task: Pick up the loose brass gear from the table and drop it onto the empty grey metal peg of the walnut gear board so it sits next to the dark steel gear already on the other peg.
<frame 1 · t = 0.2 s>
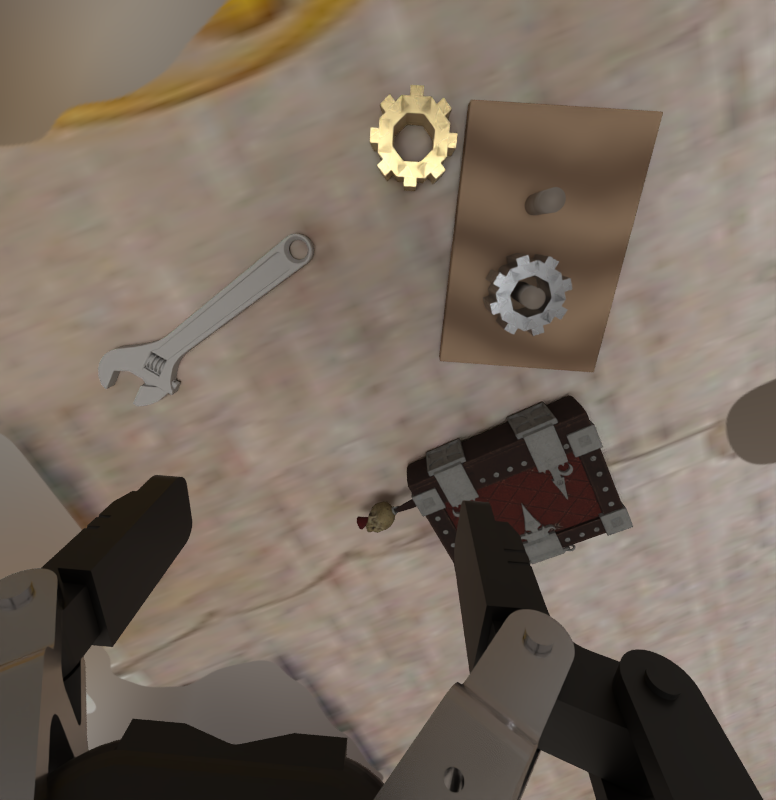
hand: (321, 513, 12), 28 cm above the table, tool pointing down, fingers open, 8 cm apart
steel gear: (519, 290, 35), point 1 cm above the table, touching gear board
gear board: (533, 250, 35), on the table
brass gear: (412, 147, 33), on the table
adjustable wrench: (213, 327, 40), on the table
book: (478, 490, 45), on the table
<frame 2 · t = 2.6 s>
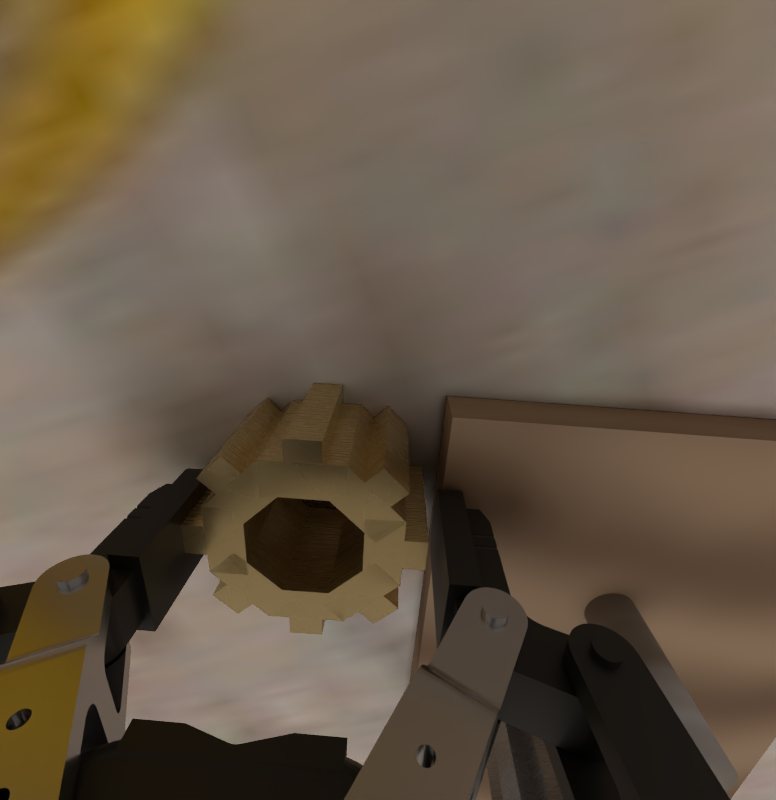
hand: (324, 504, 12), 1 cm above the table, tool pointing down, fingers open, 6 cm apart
steel gear: (562, 732, 16), point 1 cm above the table, touching gear board
gear board: (593, 641, 16), on the table
brass gear: (327, 471, 14), on the table, touching gripper
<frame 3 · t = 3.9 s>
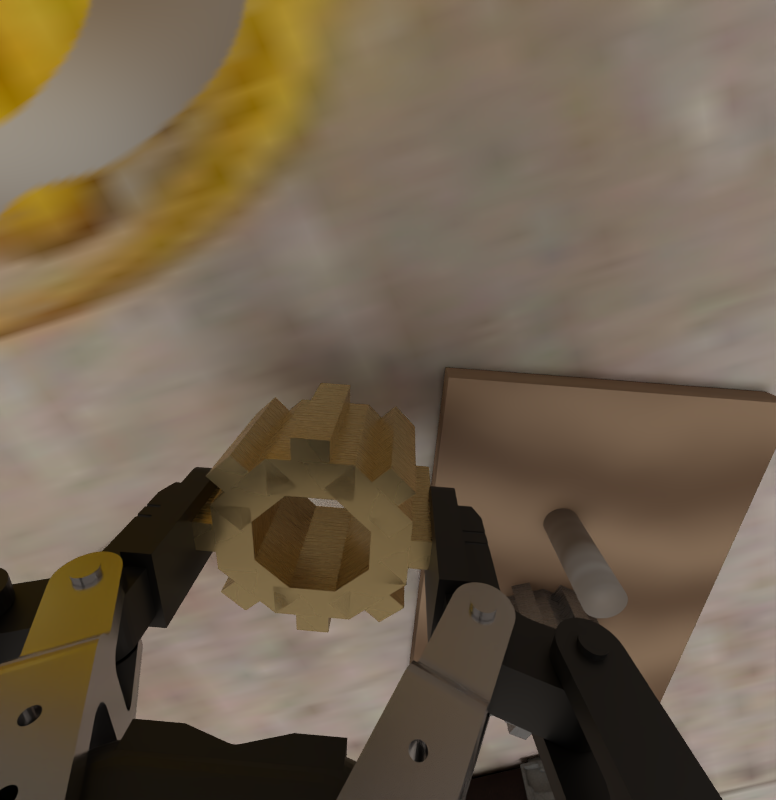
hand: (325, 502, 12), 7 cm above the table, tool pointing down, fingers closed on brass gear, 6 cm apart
steel gear: (533, 628, 21), point 1 cm above the table, touching gear board
gear board: (556, 559, 22), on the table
brass gear: (334, 470, 14), point 6 cm above the table, touching gripper
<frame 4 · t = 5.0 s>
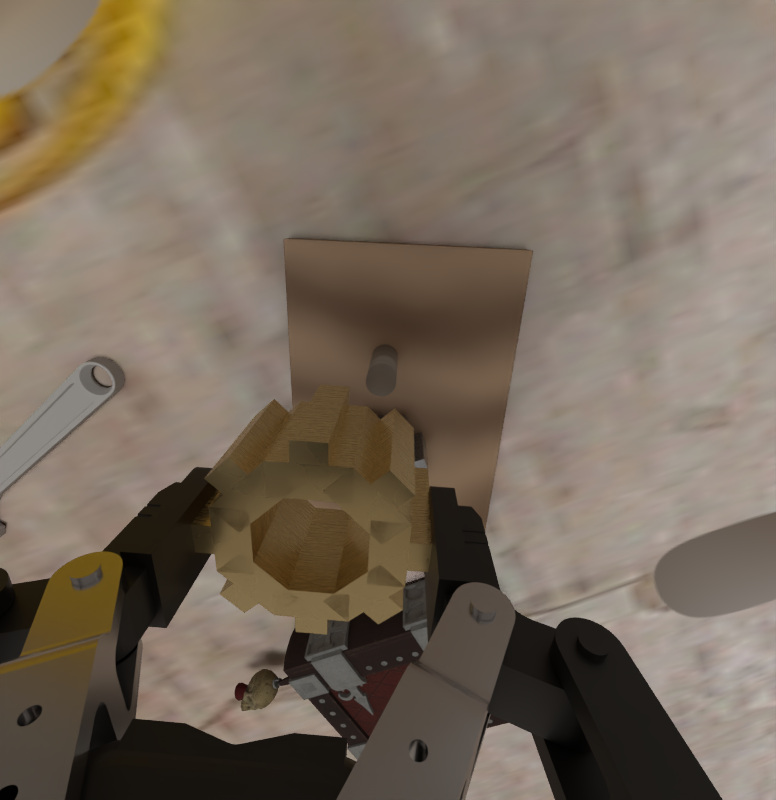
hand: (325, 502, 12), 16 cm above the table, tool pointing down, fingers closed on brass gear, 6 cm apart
steel gear: (381, 450, 28), point 1 cm above the table, touching gear board
gear board: (398, 398, 28), on the table
brass gear: (333, 472, 14), point 15 cm above the table, touching gripper
adjustable wrench: (30, 462, 32), on the table
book: (380, 650, 39), on the table
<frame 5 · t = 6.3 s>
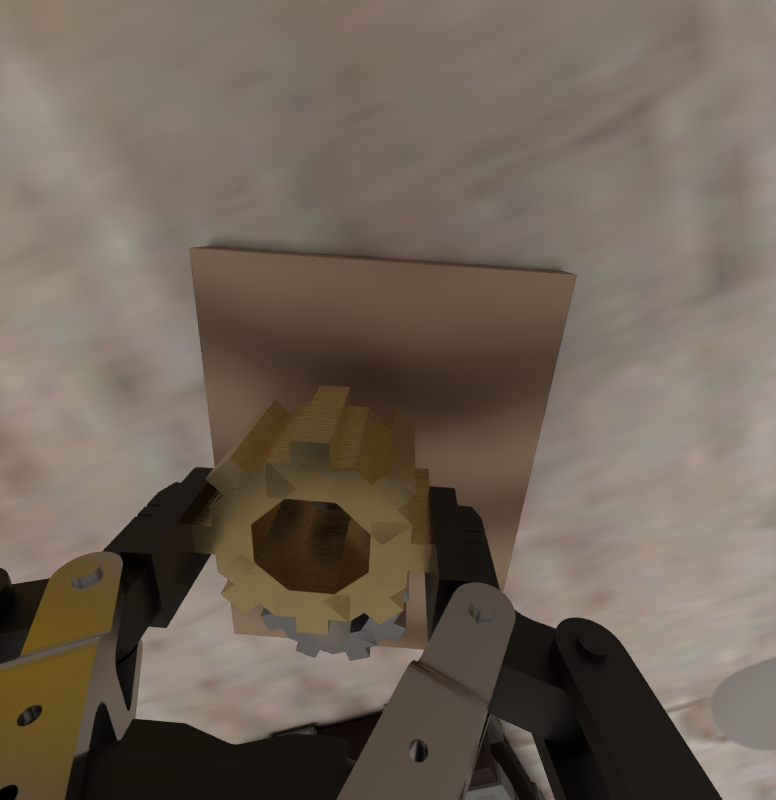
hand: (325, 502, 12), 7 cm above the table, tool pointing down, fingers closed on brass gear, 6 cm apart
steel gear: (345, 547, 20), point 1 cm above the table, touching gear board
gear board: (371, 474, 20), on the table
brass gear: (334, 472, 14), point 5 cm above the table, touching gripper
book: (353, 772, 31), on the table
when the fingers open (4 cm above the table, at t = 7.4 s): brass gear stays where it is, resting on gear board.
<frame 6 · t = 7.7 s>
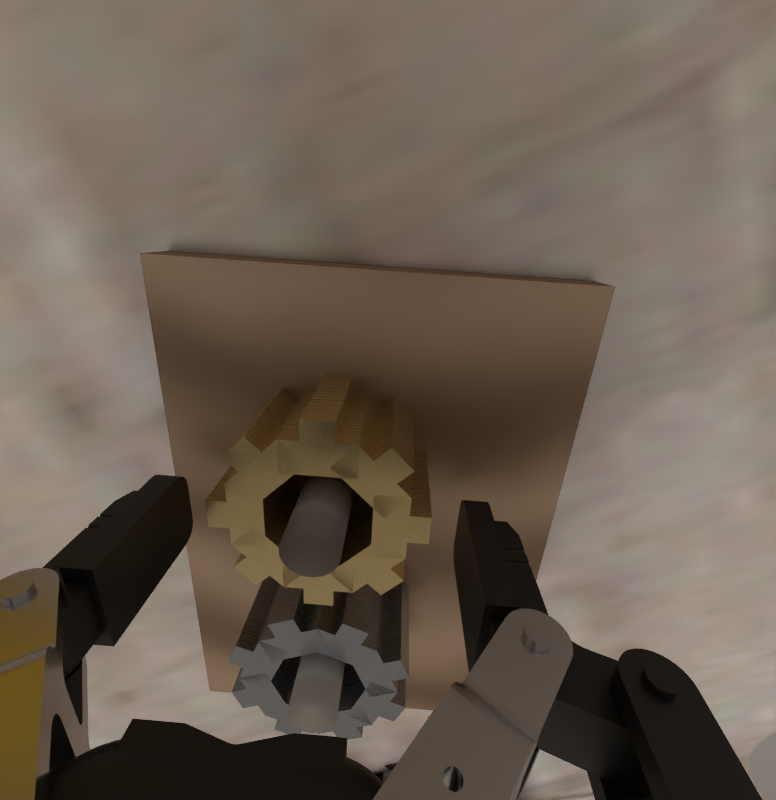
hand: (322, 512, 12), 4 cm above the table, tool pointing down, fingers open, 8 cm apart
steel gear: (335, 599, 17), point 1 cm above the table, touching gear board
gear board: (365, 514, 17), on the table
brass gear: (337, 457, 14), point 1 cm above the table, touching gear board
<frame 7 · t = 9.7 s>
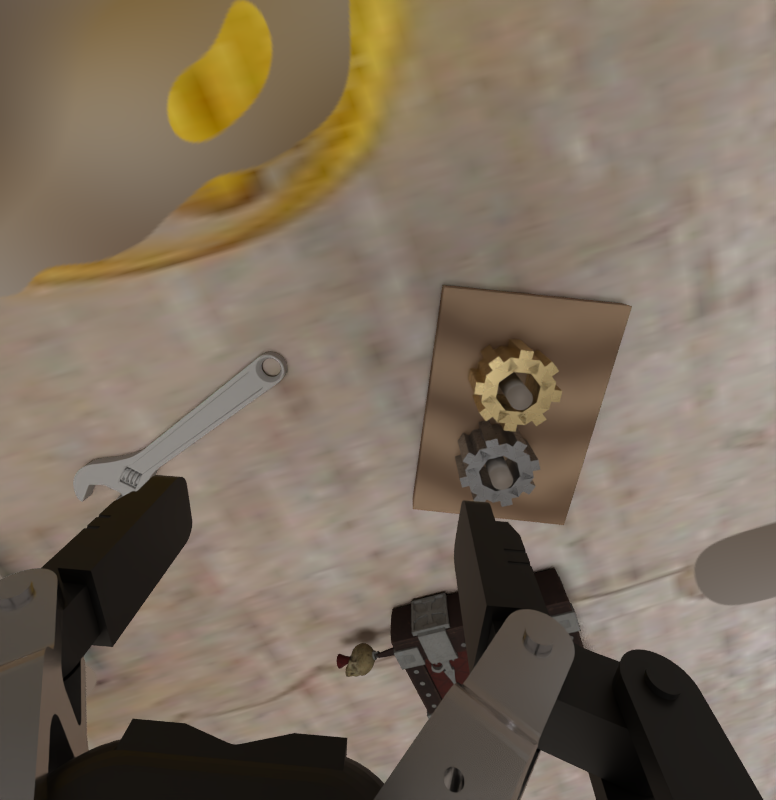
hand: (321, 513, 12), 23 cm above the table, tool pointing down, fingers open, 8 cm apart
steel gear: (491, 452, 35), point 1 cm above the table, touching gear board
gear board: (506, 411, 35), on the table
brass gear: (507, 377, 33), point 1 cm above the table, touching gear board
adjustable wrench: (189, 438, 39), on the table
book: (457, 634, 46), on the table
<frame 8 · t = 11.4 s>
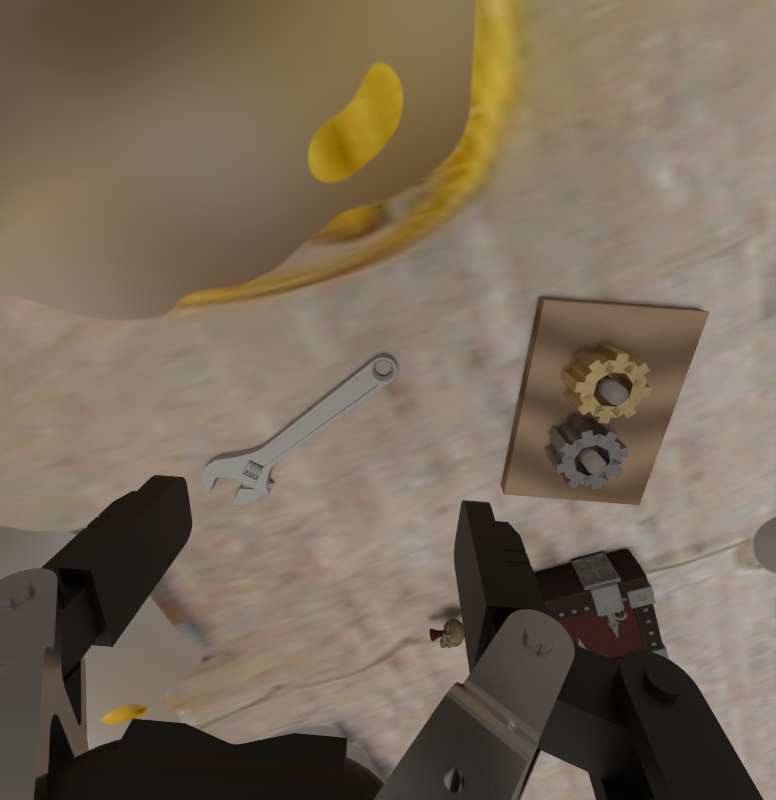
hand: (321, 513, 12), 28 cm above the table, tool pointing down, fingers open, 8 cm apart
steel gear: (577, 442, 40), point 1 cm above the table, touching gear board
gear board: (589, 406, 40), on the table
brass gear: (595, 376, 37), point 1 cm above the table, touching gear board
adjustable wrench: (303, 433, 43), on the table
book: (534, 610, 52), on the table
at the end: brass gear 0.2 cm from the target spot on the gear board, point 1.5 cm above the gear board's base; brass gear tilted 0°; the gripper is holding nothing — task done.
